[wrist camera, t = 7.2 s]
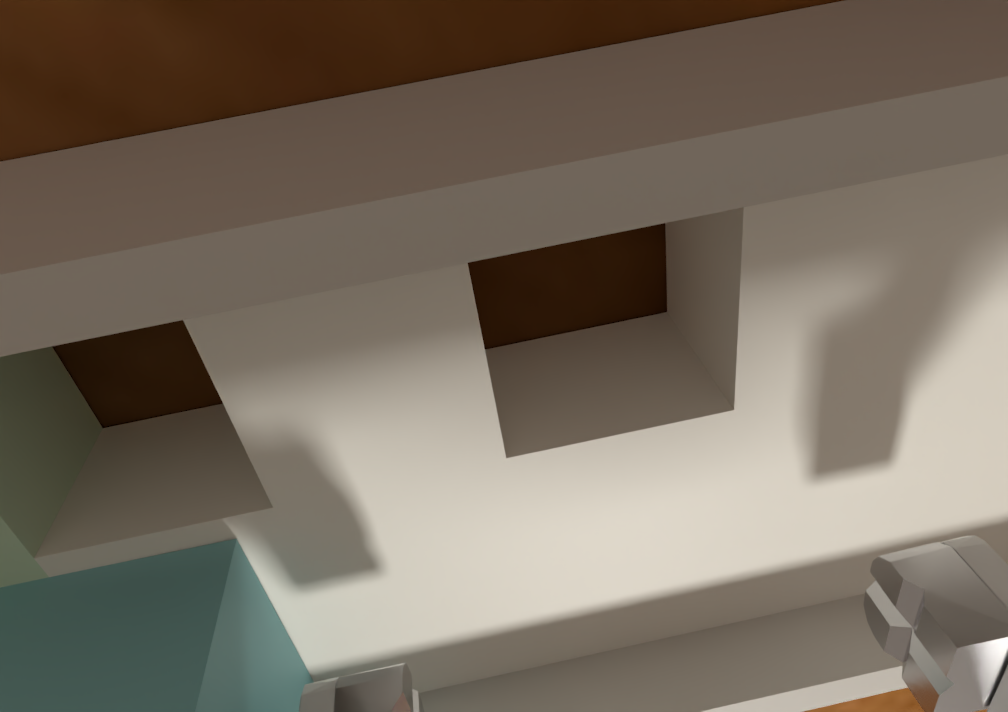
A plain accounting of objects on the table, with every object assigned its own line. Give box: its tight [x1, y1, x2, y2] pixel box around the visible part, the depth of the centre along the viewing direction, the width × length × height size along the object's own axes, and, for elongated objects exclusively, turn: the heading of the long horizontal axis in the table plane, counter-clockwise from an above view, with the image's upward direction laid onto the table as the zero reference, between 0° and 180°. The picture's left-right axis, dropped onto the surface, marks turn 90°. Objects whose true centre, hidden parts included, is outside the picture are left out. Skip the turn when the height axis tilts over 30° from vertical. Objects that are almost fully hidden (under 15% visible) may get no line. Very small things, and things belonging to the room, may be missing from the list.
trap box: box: [0, 0, 1008, 712], centre depth 12 cm, size 30×11×4 cm, turn 99°
